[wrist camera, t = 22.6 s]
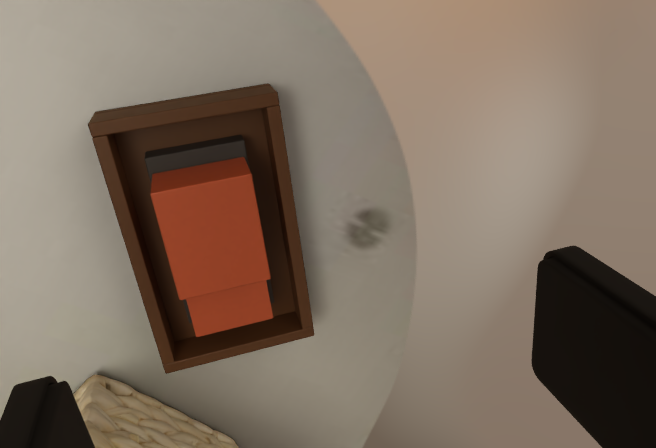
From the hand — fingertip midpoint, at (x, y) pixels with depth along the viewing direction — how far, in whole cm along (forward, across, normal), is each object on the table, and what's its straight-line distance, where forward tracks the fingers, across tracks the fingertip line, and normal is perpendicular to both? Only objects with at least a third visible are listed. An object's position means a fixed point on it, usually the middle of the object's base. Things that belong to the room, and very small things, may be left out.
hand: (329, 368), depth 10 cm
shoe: (+26, +2, +8) cm, 27 cm away
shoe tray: (+26, +2, +8) cm, 28 cm away
